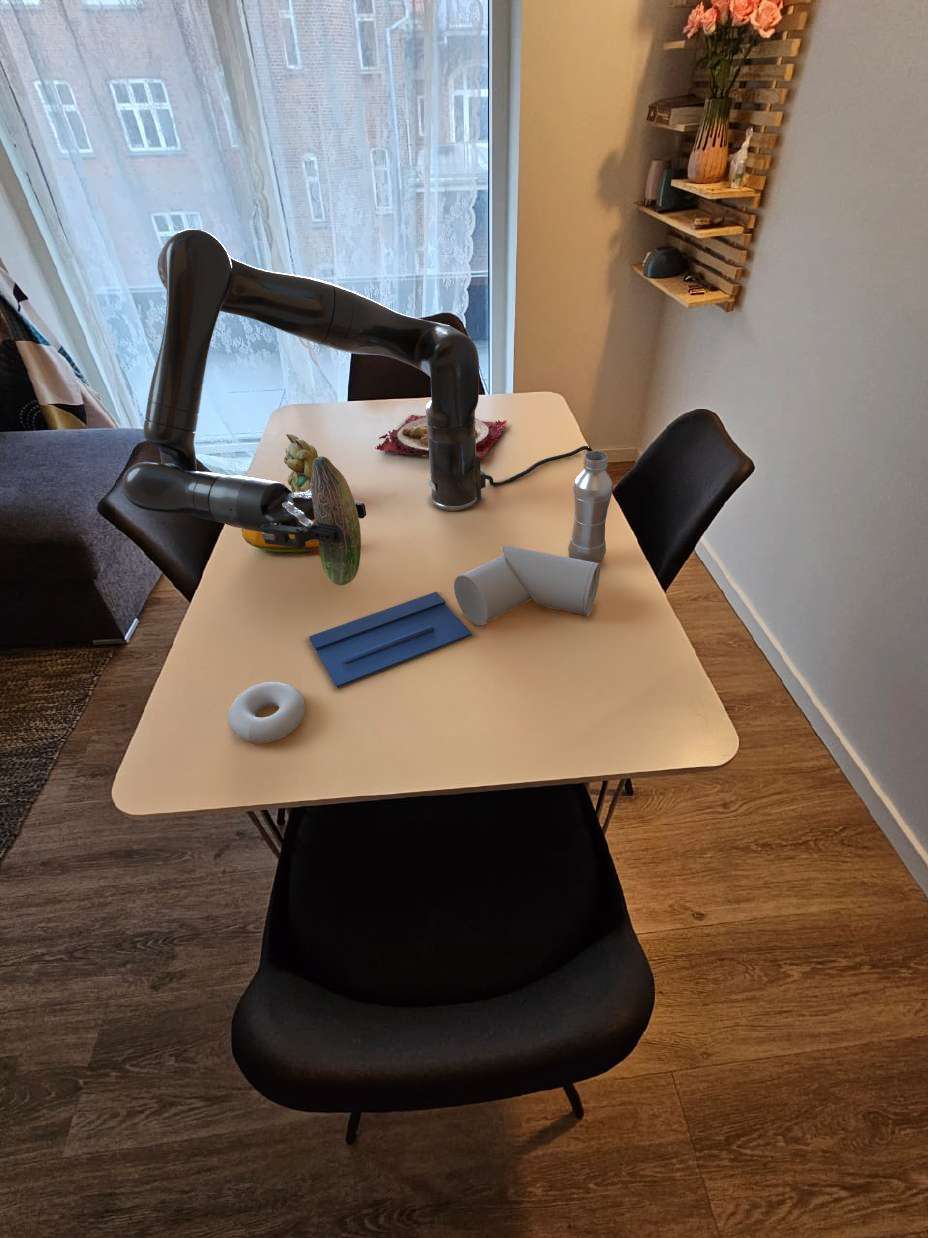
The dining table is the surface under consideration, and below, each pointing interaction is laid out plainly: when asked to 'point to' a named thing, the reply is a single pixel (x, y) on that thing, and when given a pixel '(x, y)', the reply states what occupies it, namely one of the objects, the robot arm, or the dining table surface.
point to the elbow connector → (527, 584)
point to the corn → (258, 542)
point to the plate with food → (416, 437)
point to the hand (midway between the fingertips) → (352, 522)
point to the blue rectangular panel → (387, 638)
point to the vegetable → (336, 521)
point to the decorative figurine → (299, 463)
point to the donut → (270, 726)
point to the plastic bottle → (591, 509)
